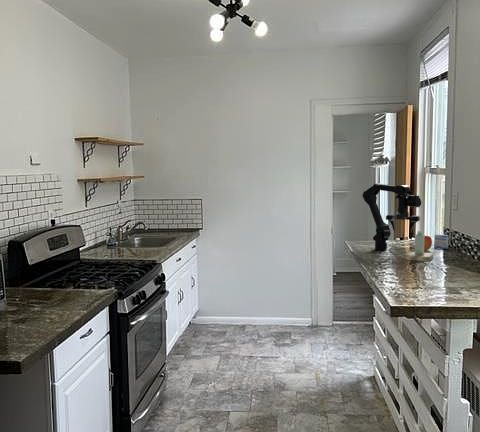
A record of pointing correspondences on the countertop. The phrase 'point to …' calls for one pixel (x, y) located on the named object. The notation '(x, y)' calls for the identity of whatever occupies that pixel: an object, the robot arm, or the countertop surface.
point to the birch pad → (419, 256)
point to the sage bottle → (419, 243)
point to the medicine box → (441, 241)
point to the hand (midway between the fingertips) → (402, 232)
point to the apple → (427, 243)
